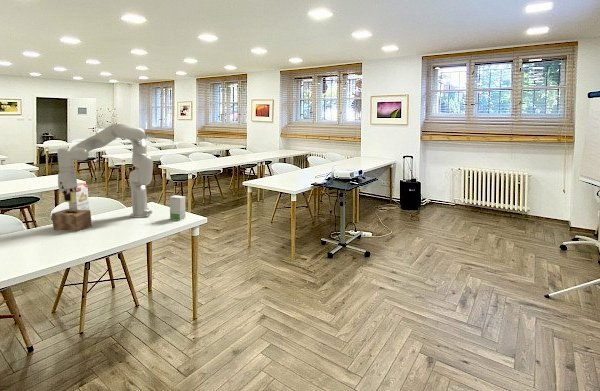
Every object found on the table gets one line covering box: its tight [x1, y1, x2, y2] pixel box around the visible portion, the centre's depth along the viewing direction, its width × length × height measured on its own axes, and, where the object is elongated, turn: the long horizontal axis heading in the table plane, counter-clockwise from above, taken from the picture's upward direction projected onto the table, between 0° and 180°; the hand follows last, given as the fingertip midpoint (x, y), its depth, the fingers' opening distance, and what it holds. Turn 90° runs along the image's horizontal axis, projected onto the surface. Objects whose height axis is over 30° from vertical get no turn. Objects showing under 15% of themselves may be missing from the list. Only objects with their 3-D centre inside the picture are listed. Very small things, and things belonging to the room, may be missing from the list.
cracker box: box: [68, 182, 90, 210], centre depth 254 cm, size 14×6×21 cm, turn 179°
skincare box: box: [169, 194, 186, 221], centre depth 250 cm, size 8×7×16 cm
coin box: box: [51, 208, 93, 233], centre depth 226 cm, size 16×12×10 cm
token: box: [62, 191, 76, 203], centre depth 223 cm, size 6×3×6 cm, turn 81°
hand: (69, 199), depth 223 cm, fingers closed on token, 3 cm apart
